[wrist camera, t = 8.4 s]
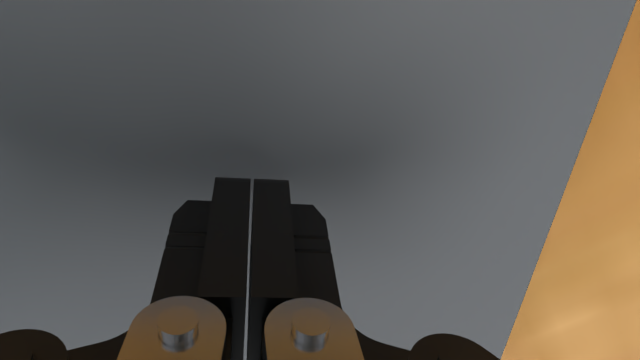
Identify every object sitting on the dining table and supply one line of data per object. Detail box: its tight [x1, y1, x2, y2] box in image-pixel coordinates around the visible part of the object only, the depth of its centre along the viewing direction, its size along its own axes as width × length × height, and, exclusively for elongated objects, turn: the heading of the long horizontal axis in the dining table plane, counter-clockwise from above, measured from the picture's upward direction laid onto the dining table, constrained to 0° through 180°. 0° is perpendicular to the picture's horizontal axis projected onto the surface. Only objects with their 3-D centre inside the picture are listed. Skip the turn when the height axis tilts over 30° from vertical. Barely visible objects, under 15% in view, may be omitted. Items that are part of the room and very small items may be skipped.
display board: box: [0, 0, 636, 360], centre depth 13 cm, size 15×28×1 cm, turn 84°
